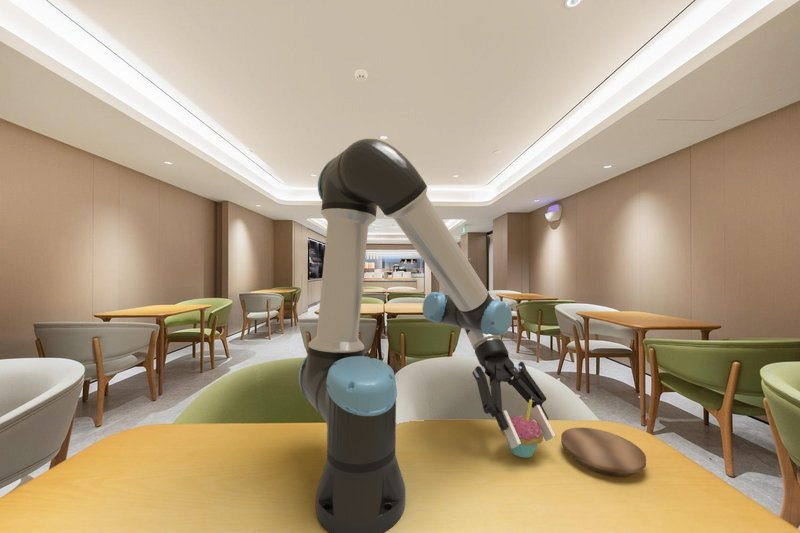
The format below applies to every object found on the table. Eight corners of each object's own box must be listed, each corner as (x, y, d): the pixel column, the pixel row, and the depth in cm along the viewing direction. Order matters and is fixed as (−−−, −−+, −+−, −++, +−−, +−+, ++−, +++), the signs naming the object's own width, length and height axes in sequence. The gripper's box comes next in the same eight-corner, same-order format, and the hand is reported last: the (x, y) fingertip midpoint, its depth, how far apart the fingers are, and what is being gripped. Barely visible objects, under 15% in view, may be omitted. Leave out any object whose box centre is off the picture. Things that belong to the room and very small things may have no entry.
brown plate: (586, 483, 59) (586, 467, 59) (548, 440, 74) (548, 427, 74) (666, 484, 59) (666, 468, 59) (612, 440, 74) (612, 427, 74)
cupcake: (535, 442, 72) (536, 389, 72) (549, 465, 64) (550, 405, 64) (496, 439, 73) (497, 387, 73) (505, 461, 65) (506, 402, 65)
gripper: (514, 350, 87) (562, 439, 71) (446, 356, 79) (482, 457, 64) (528, 335, 82) (583, 427, 66) (457, 340, 74) (499, 445, 59)
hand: (533, 442), depth 65 cm, fingers closed on cupcake, 8 cm apart
